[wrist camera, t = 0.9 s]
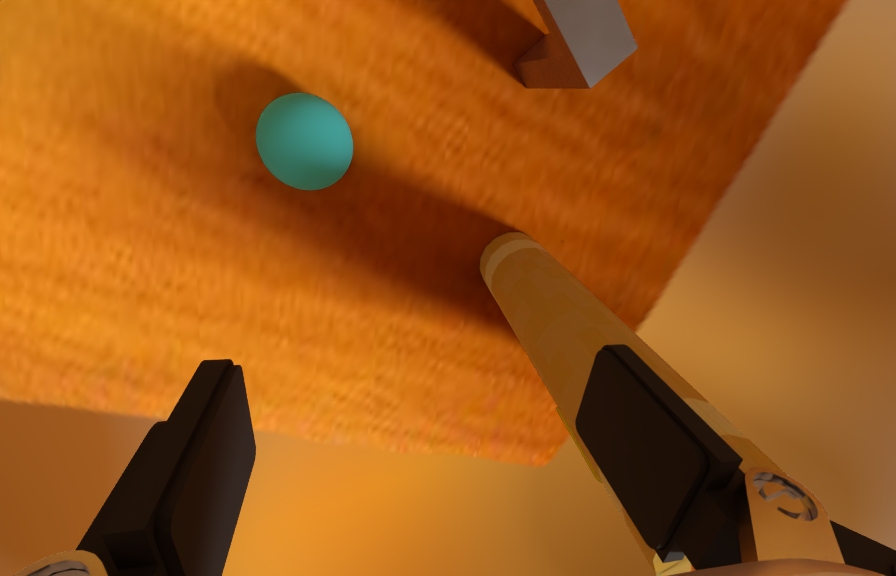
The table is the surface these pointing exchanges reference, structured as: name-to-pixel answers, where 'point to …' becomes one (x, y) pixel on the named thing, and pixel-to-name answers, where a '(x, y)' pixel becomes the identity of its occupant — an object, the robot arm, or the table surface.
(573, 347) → the book
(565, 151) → the table surface
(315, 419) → the table surface
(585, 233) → the table surface
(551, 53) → the bridge
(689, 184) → the table surface
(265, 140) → the ball
